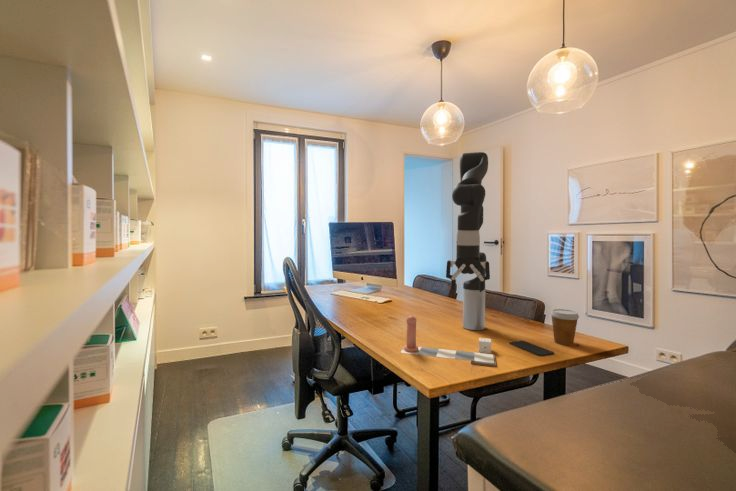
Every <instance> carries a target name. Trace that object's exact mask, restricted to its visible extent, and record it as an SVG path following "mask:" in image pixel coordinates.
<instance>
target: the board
mask: <svg viewBox="0 0 736 491" xmlns="http://www.w3.org/2000/svg"><path fill="white" fill-rule="evenodd" d="M400 354H408V355H409V354H410V355H415V356H416V355H417V356H426V357H427V356H428V357H435V358H444V359H445V358H446V359H453V360H463V361H470V364H471V365H476V366H485V367H492V368H493V367H495V368H496V367H497V360H496V356H495V354H494V353H493V354H492V353H482V352H473V351H463V350H456V349H455V350H453V349H452V350H451V349H444V348H443V349H442V348H434V347H433V348H432V347H423V346H418V351H417V352H407V351H405V350H404V347H402V349H401V351H400Z"/></svg>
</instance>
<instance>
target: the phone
mask: <svg viewBox="0 0 736 491" xmlns="http://www.w3.org/2000/svg"><path fill="white" fill-rule="evenodd" d="M508 343H509V345H511V346H513V347H516V348H518V349H520V350H523V351H525V352H528V353H530V354H533V355H535V356H537V357H546V356H553V355H555V352H554V351H552V350H549V349H547V348H545V347H541V346H539V345H536V344H533V343H531V342H528V341H526V340H516V341H515V340H514V341H509V342H508Z"/></svg>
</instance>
